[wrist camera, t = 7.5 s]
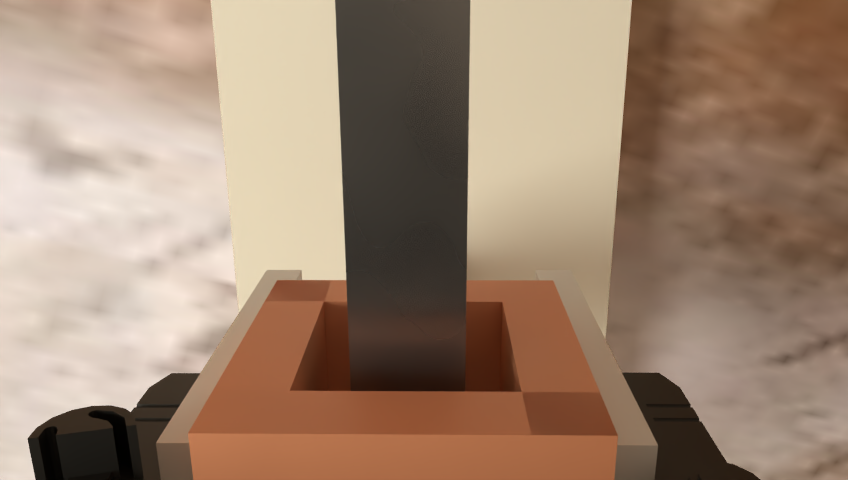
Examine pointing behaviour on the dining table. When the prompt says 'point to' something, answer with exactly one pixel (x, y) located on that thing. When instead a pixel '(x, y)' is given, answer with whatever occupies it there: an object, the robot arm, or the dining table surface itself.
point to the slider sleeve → (406, 398)
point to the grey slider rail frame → (405, 190)
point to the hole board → (487, 145)
